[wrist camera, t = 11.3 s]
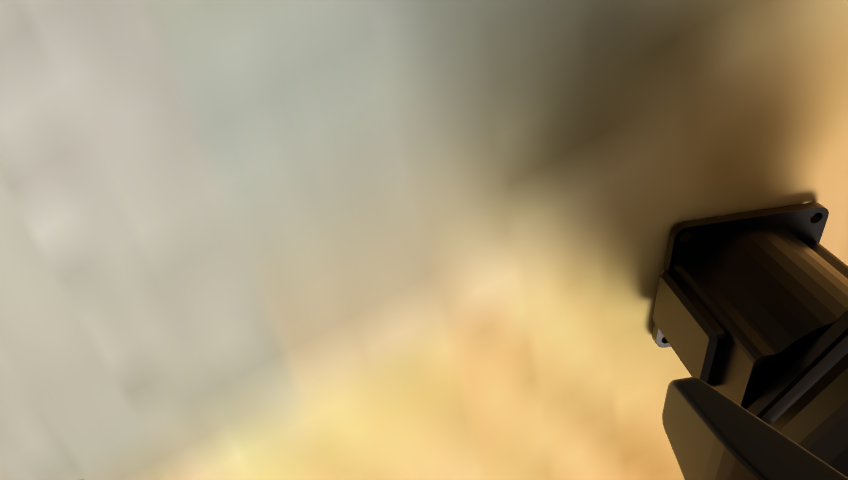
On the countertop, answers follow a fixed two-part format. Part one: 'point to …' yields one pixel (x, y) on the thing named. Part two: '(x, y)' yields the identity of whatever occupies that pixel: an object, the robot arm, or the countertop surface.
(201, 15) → the countertop surface
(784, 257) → the robot arm
